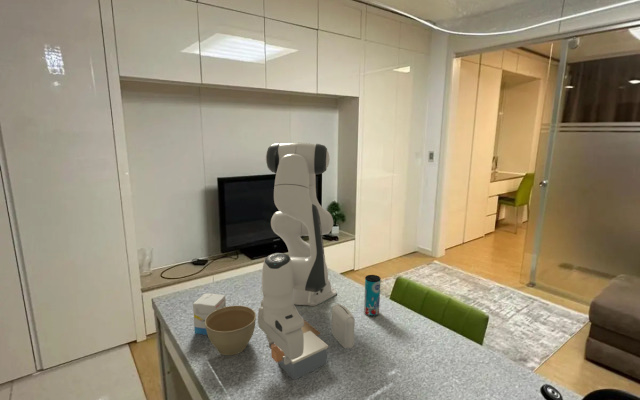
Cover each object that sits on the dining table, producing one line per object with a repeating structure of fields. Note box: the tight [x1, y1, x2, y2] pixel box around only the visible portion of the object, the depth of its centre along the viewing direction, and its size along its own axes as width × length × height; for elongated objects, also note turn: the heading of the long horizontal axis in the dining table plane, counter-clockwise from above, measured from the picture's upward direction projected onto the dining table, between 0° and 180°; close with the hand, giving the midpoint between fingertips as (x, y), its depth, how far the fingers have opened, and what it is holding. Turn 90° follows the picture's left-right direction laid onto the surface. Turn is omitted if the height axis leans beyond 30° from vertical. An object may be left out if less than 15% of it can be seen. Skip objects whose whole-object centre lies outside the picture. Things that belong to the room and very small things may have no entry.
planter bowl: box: [205, 305, 257, 356], centre depth 110 cm, size 16×16×11 cm
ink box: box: [192, 292, 227, 336], centre depth 121 cm, size 9×8×12 cm
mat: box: [302, 318, 322, 337], centre depth 119 cm, size 14×12×1 cm
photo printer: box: [331, 303, 356, 349], centre depth 114 cm, size 10×4×12 cm, turn 26°
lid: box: [270, 331, 329, 364], centre depth 100 cm, size 16×10×4 cm, turn 127°
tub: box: [277, 348, 328, 381], centre depth 102 cm, size 12×9×6 cm
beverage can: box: [363, 274, 381, 317], centre depth 131 cm, size 6×6×15 cm
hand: (279, 355), depth 97 cm, fingers open, 7 cm apart
